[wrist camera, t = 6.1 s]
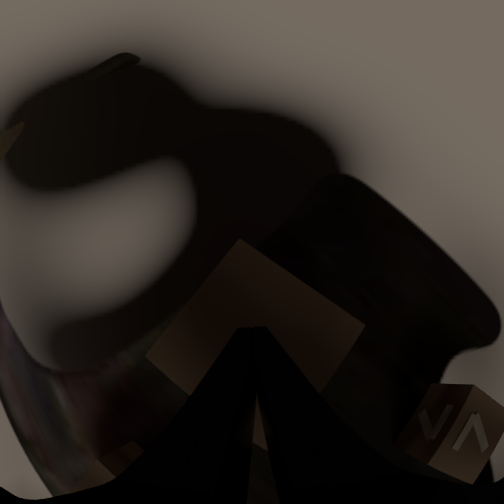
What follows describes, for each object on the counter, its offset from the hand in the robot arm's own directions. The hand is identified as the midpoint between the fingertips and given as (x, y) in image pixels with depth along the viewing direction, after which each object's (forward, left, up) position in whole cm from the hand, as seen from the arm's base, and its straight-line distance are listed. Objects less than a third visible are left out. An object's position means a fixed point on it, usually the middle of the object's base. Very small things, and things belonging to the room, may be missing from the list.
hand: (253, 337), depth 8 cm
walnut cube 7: (+2, -14, -9) cm, 17 cm away
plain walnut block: (0, 0, -9) cm, 9 cm away
